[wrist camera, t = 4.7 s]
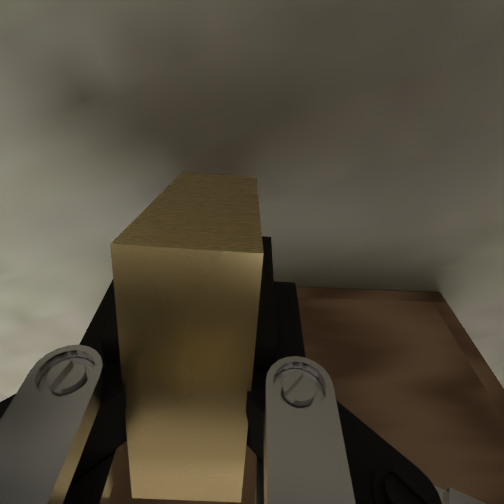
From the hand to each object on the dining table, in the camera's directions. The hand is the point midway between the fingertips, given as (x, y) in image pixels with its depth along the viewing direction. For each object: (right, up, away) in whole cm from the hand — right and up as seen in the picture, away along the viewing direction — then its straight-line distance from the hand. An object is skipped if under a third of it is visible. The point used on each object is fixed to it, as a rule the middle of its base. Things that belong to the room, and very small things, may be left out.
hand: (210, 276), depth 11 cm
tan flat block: (0, 0, +2) cm, 2 cm away
